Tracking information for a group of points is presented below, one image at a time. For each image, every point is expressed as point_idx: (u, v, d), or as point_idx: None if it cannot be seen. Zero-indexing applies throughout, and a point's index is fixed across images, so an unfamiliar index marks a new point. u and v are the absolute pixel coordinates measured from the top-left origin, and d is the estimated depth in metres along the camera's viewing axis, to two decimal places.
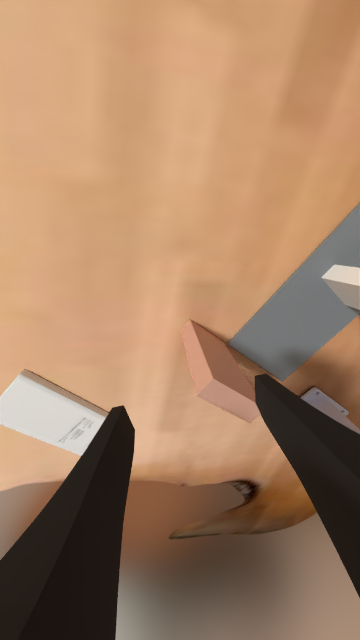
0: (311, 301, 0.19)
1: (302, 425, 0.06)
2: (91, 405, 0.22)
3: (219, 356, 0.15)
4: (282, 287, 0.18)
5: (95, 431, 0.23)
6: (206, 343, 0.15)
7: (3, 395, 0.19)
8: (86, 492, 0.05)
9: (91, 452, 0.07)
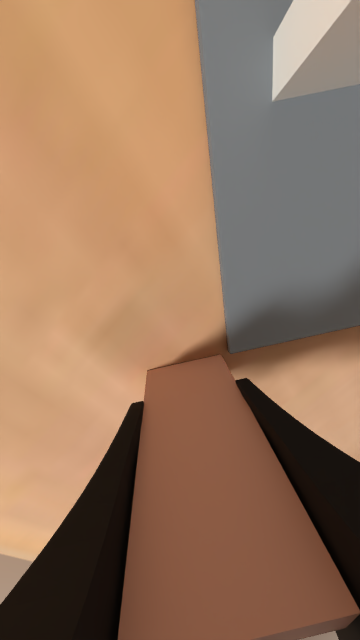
0: (300, 164, 0.08)
1: (273, 432, 0.06)
2: None
3: (192, 440, 0.07)
4: (216, 209, 0.08)
5: None
6: (164, 422, 0.08)
7: None
8: (119, 485, 0.05)
9: (118, 446, 0.07)
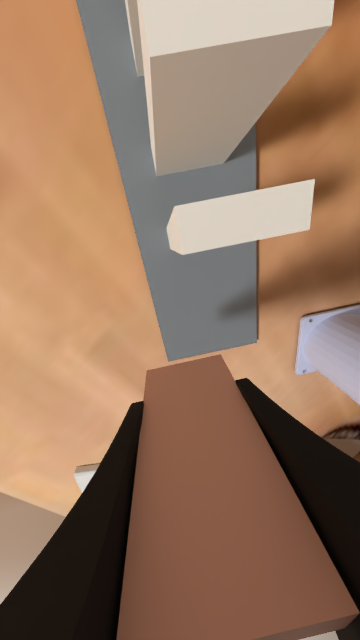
0: (189, 271, 0.16)
1: (273, 432, 0.06)
2: None
3: (191, 440, 0.07)
4: (150, 290, 0.16)
5: None
6: (163, 422, 0.08)
7: (81, 488, 0.26)
8: (119, 485, 0.05)
9: (118, 446, 0.07)
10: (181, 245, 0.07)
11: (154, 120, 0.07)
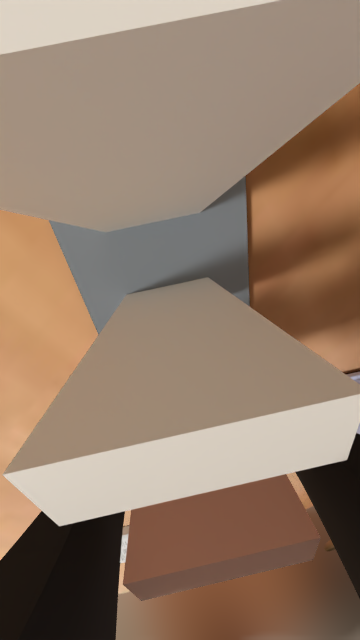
0: None
1: None
2: None
3: None
4: None
5: None
6: None
7: None
8: None
9: None
10: (53, 513, 0.03)
11: (11, 211, 0.03)
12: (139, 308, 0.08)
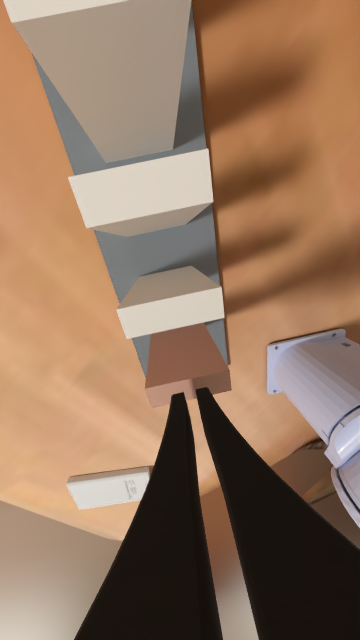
0: None
1: (214, 446, 0.06)
2: (122, 471, 0.28)
3: (176, 344, 0.14)
4: None
5: (140, 483, 0.29)
6: (162, 340, 0.15)
7: (73, 496, 0.28)
8: (188, 469, 0.05)
9: (173, 434, 0.07)
10: (125, 332, 0.09)
11: None
12: (149, 280, 0.13)
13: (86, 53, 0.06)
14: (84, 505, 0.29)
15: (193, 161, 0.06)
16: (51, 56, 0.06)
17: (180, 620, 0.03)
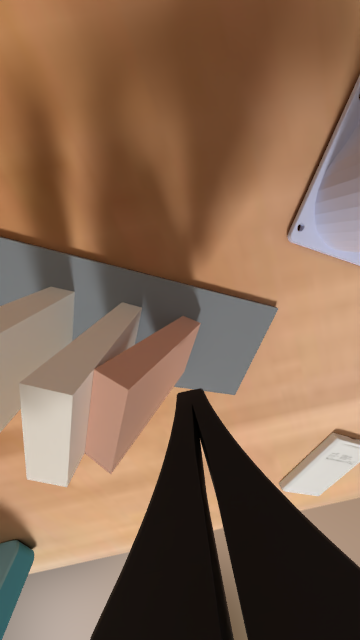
0: None
1: (205, 447, 0.06)
2: (313, 452, 0.25)
3: None
4: None
5: (344, 449, 0.24)
6: None
7: (299, 492, 0.28)
8: (197, 467, 0.05)
9: (181, 432, 0.07)
10: (59, 483, 0.07)
11: (13, 416, 0.09)
12: None
13: None
14: (318, 491, 0.28)
15: None
16: None
17: (198, 616, 0.03)
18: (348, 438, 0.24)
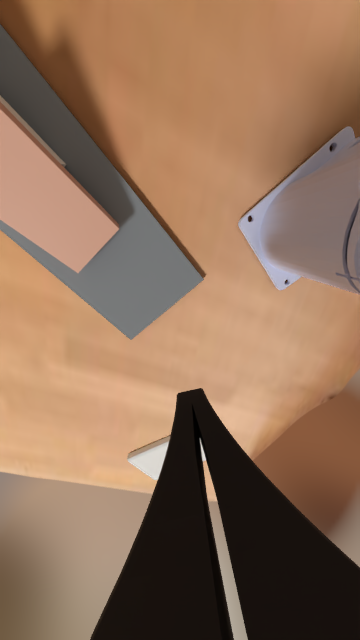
0: None
1: (205, 447, 0.06)
2: None
3: None
4: (66, 284, 0.16)
5: None
6: None
7: (140, 469, 0.29)
8: (197, 467, 0.05)
9: (181, 432, 0.07)
10: None
11: None
12: None
13: None
14: (156, 475, 0.30)
15: None
16: None
17: (198, 616, 0.03)
18: None
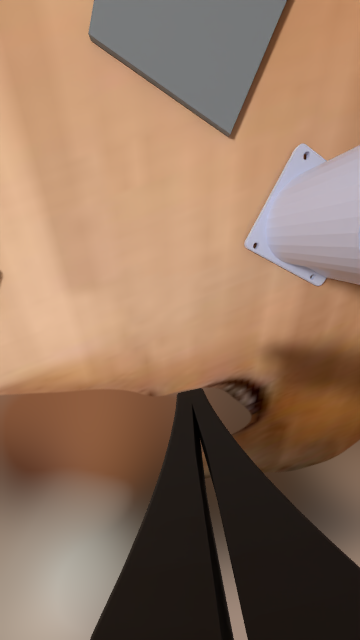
0: None
1: (205, 448, 0.06)
2: None
3: None
4: None
5: None
6: None
7: None
8: (197, 467, 0.05)
9: (181, 432, 0.07)
10: None
11: None
12: None
13: None
14: None
15: None
16: None
17: (198, 616, 0.03)
18: None
